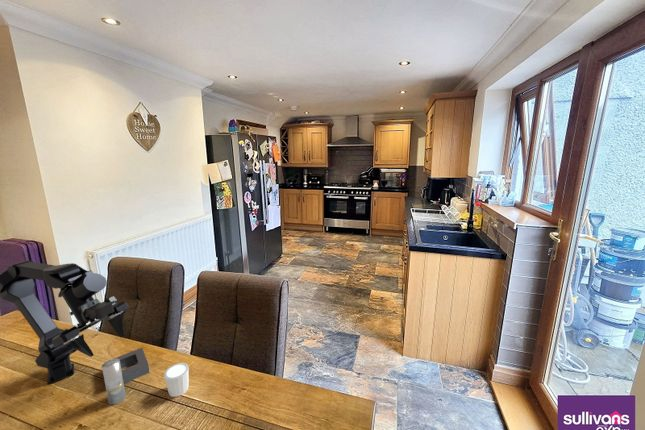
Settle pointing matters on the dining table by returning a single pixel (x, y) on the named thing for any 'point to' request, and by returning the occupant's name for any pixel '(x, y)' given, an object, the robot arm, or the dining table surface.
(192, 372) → the dining table surface
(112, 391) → the grey rounded cylinder
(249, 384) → the dining table surface
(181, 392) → the white cylinder
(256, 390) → the dining table surface
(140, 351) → the collar block
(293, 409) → the dining table surface
